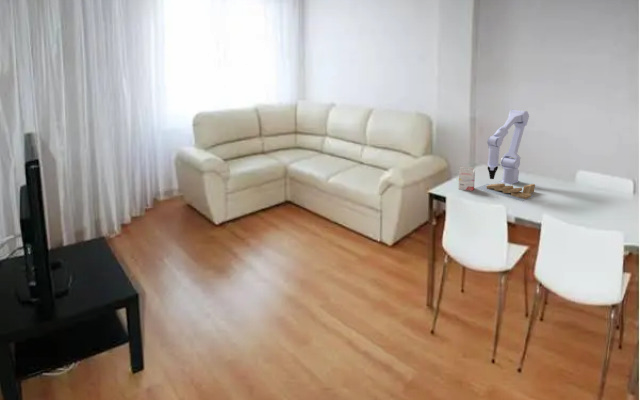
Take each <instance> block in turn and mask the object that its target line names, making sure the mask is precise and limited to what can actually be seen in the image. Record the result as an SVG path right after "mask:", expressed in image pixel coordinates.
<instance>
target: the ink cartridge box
mask: <svg viewBox="0 0 640 400" xmlns="http://www.w3.org/2000/svg"><path fill="white" fill-rule="evenodd" d="M474 168H475V167H471V166H459V171H458V187H457V188H458V190H462V191H471V192H473V191H474V190H475V178H476V170H475V169H474Z"/></svg>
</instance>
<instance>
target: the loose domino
mask: <svg viewBox="0 0 640 400" xmlns="http://www.w3.org/2000/svg"><path fill="white" fill-rule="evenodd" d="M535 188H536V184H535V183H531V184H530V183H529V184H526V185H523V189H522V192H523V193H527V194H533V193H535Z"/></svg>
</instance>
